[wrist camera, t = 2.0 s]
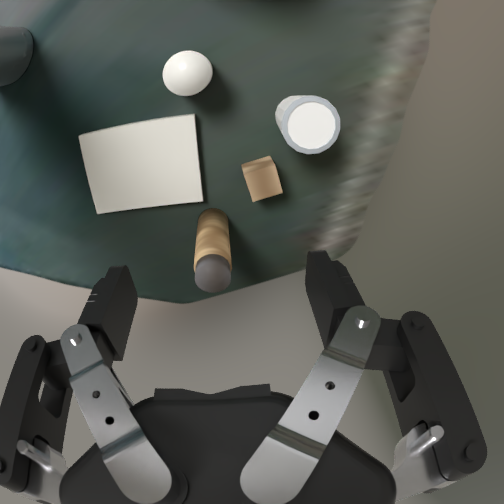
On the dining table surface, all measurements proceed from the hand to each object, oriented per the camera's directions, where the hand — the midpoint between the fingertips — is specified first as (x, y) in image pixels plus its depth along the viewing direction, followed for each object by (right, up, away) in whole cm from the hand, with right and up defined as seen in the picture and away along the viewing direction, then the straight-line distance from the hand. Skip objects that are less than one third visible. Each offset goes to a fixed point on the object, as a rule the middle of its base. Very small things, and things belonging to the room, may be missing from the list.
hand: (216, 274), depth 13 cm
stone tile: (-13, +13, +24) cm, 30 cm away
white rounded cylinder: (-6, +23, +18) cm, 29 cm away
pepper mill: (-4, +5, +30) cm, 31 cm away
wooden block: (+3, +12, +27) cm, 29 cm away
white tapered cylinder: (+7, +19, +22) cm, 30 cm away
